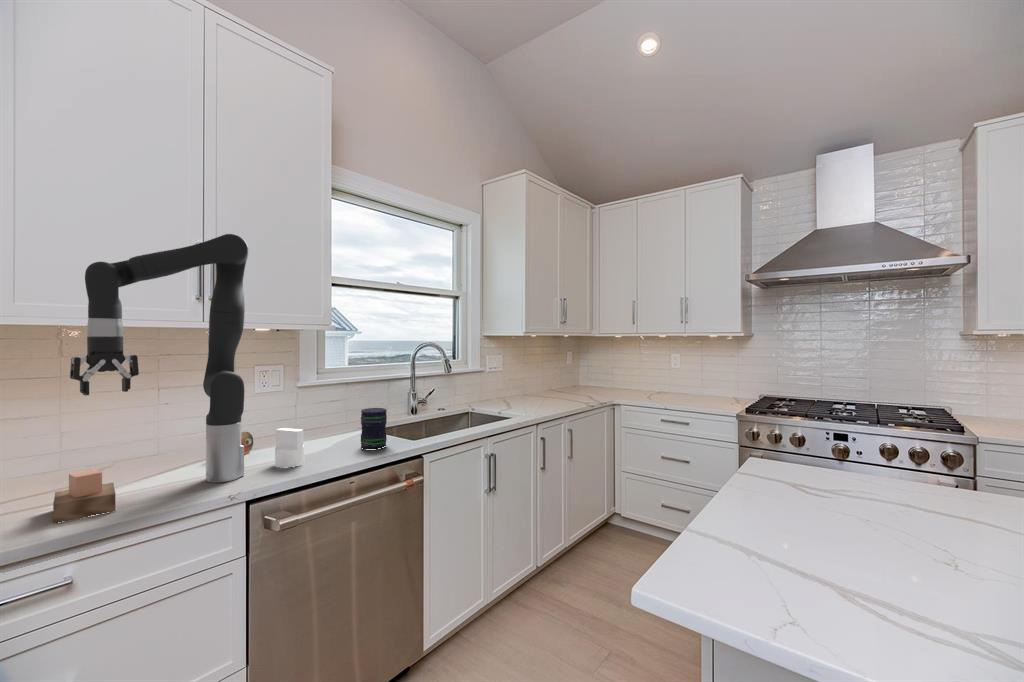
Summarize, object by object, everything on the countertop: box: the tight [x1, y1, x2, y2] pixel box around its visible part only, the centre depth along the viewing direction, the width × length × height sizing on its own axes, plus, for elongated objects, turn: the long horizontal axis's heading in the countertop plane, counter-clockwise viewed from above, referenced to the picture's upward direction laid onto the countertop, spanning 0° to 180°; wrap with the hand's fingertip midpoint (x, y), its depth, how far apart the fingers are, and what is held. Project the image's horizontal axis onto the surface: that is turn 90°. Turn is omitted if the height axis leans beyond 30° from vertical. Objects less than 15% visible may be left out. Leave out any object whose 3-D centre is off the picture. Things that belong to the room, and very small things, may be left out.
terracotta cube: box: [68, 468, 103, 498], centre depth 115 cm, size 5×5×5 cm
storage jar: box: [360, 407, 388, 449], centre depth 181 cm, size 10×10×15 cm
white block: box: [274, 427, 305, 469], centre depth 157 cm, size 9×9×12 cm
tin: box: [241, 431, 254, 455], centre depth 165 cm, size 15×3×8 cm, turn 168°
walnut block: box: [52, 482, 116, 525], centre depth 115 cm, size 11×11×5 cm
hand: (106, 393), depth 127 cm, fingers open, 8 cm apart
